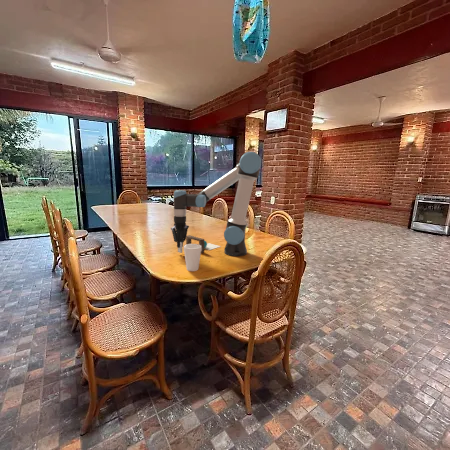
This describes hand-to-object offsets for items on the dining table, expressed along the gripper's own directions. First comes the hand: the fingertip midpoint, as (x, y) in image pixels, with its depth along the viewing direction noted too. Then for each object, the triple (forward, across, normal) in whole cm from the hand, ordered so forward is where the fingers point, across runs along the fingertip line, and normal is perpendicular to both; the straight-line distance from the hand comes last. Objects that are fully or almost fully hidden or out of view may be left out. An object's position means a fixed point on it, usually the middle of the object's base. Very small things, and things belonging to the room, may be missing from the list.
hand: (180, 252), depth 155 cm
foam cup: (+2, +10, +23) cm, 25 cm away
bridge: (+2, -13, 0) cm, 13 cm away
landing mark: (+2, -27, 0) cm, 27 cm away
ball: (-1, -21, -1) cm, 21 cm away
